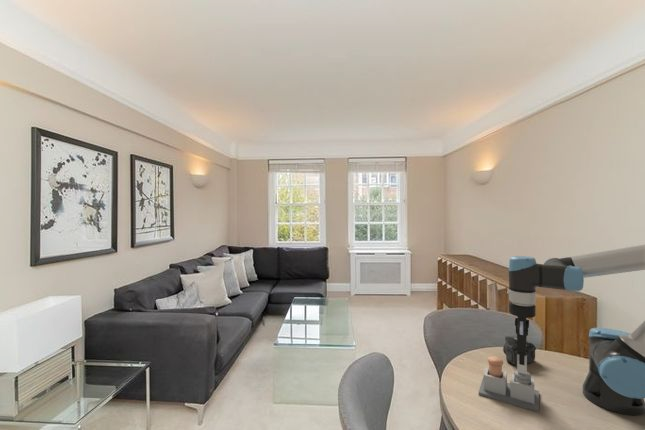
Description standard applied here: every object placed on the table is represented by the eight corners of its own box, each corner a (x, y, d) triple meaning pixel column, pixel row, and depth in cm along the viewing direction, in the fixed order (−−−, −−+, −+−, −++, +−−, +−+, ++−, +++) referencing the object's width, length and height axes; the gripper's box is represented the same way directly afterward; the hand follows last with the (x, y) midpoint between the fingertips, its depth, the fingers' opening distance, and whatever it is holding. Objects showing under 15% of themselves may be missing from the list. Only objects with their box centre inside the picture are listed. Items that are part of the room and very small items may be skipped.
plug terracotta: (503, 376, 110) (503, 358, 110) (502, 382, 106) (502, 364, 106) (488, 372, 113) (488, 355, 113) (486, 378, 109) (486, 360, 109)
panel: (538, 393, 107) (538, 375, 107) (538, 412, 97) (538, 393, 97) (483, 378, 117) (483, 362, 117) (478, 394, 107) (478, 377, 107)
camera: (511, 352, 138) (511, 329, 138) (537, 360, 130) (537, 336, 130) (498, 361, 130) (498, 337, 130) (525, 371, 122) (525, 345, 122)
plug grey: (531, 390, 105) (531, 372, 105) (530, 398, 101) (530, 378, 101) (514, 386, 108) (514, 368, 108) (513, 393, 104) (513, 374, 104)
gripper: (510, 296, 112) (510, 361, 112) (507, 306, 101) (507, 378, 102) (535, 299, 108) (535, 367, 108) (535, 310, 97) (535, 385, 97)
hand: (521, 372), depth 105 cm, fingers closed
